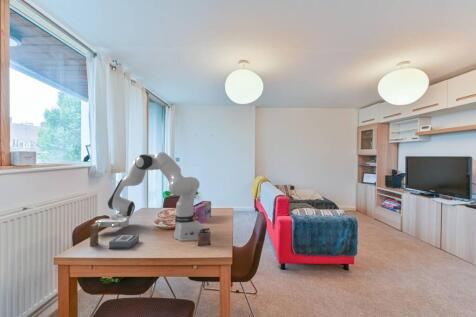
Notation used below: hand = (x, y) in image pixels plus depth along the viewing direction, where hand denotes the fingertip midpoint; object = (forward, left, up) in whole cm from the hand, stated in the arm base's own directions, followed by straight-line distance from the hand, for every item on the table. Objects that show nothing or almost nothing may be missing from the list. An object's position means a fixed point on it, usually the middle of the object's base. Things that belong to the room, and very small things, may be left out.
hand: (105, 226), depth 150 cm
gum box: (-56, -45, -8) cm, 72 cm away
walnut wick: (0, +12, -7) cm, 14 cm away
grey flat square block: (-18, +12, -7) cm, 23 cm away
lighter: (-65, +11, -7) cm, 66 cm away
